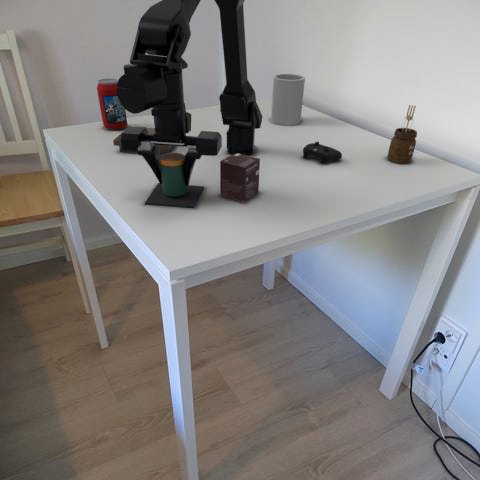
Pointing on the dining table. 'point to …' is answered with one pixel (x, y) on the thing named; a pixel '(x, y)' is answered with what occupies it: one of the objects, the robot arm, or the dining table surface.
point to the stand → (163, 149)
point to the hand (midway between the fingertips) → (174, 184)
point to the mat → (179, 201)
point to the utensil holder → (403, 142)
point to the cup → (287, 99)
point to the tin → (173, 174)
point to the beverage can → (111, 105)
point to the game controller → (321, 152)
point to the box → (239, 177)
